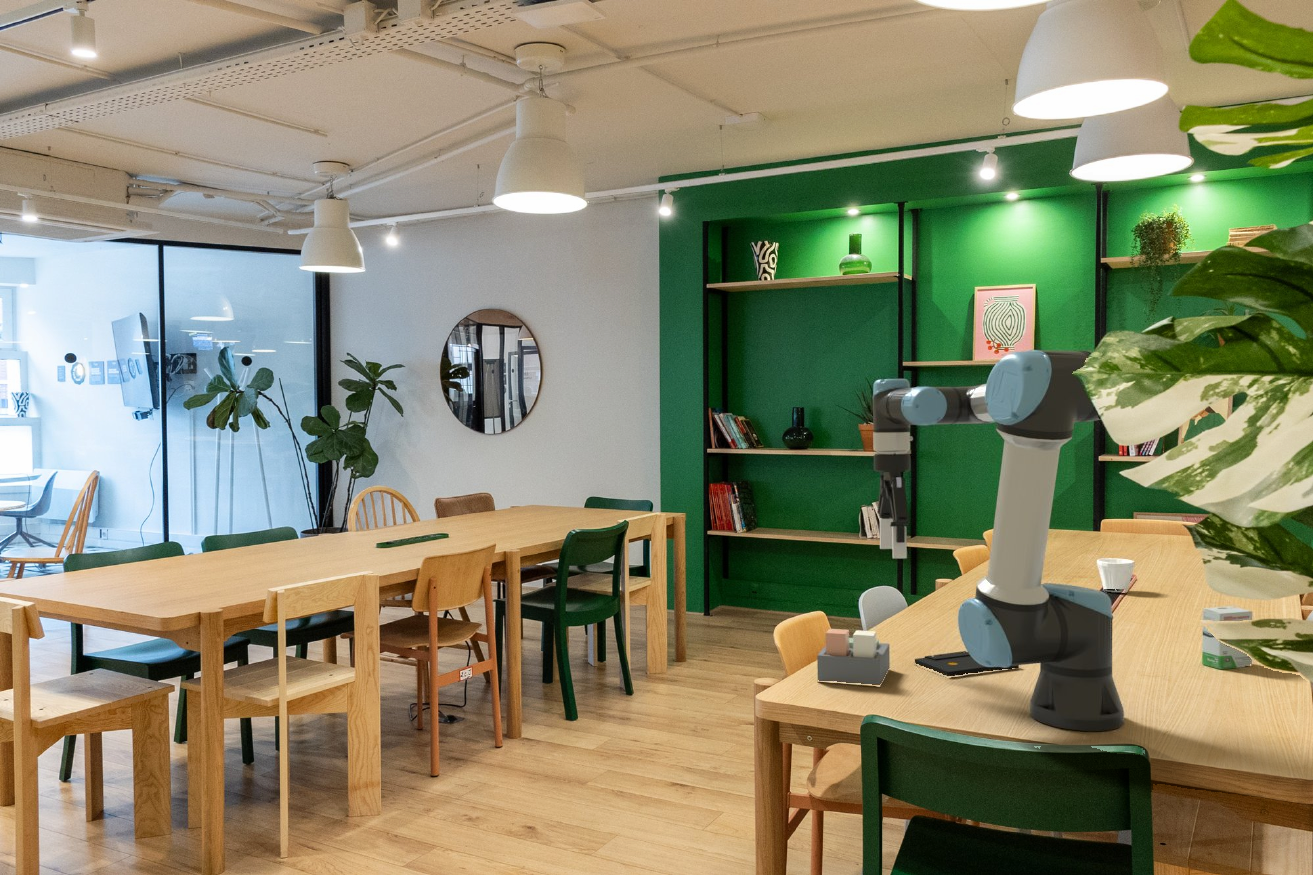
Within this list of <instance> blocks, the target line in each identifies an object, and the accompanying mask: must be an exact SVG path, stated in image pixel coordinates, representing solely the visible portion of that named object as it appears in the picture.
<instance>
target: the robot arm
mask: <svg viewBox="0 0 1313 875" xmlns="http://www.w3.org/2000/svg"><path fill="white" fill-rule="evenodd" d="M1092 351H1093V350H1044V349H1043V350H1039V349H1030V350H1024V351H1014V352H1010V353H1008V354H1006V355H1004V356H1003V357H1001V359H1000V360H999V361H998V362H996V363H995V365H994V366H993V368H992V370H991V371H990V373H989V376H988V378H987V381H986V383H984V384H978V385H974V386H973V385H971V386H929V385H928V386H925V385H924V386H921V385H920V386H916V387H910V386H911V385H910V381H909V380H908V379H906V378H886V379H883V378H882V379H881V378H880V379H877V380H875V381H874V383H873V393H872V398H871V399H872V415H873V416H872V420H873V422H872V424H873V434H872V436H873V437H872V438H873V439H872V440H873V442H872V444H873V445H872V447H873V451H874V452H876V453H874V454H873V469H874V470H873V471H874V472H878V473H879V472H880V474H879V482H880V483H879V490H878V491H879V492H878V502H877V503H878V504H877V511H876V513H877V514H878V516H879V549H880V550H892V559H907V558H908V551H907V550H908V549H907V547H908V546H907V526H908V525H909V524H910V518H909V508H908V500H907V492H906V491H907V490H906V478H905V477H902V476H901V473H903V472H910V471H911V455H910V453H908V452H910V450H911V442H913V440H914V438H913V436H911V433H910V432H911V425H913V426H914V425H915V426H920V427H922V426H931V425H932V426H933V425H950V424H951V425H956V424H957V425H958V424H960V425H961V424H965V425H967V424H969V425H970V424H972V425H973V424H977V425H983V424H984V425H986V424H993V423H996V428H995V429H996V431H997V433H998V434H999V436H1001V437H1002V439H1003V440H1004V442H1003V443H1004V444H1003V451H1002V458H1001V467H1000V473H999V474H1000V476H999V483H998V490H997V499H996V506H995V513H994V514H995V515H994V521H993V530H992V538H991V544H990V551H989V552H990V553H989V561H988V568H987V569H988V570H987V575H985V576H983V577H982V578H981V579H979V580H977V582H976V587H975V588H976V589H975V597H971V598H968V599H966V600H964V601H963V602H962V603H961V605H960V606H959V609H958V612H957V624H958V631H959V635H960V637H961V641H962V643H963V646H964V648H965V651H966V652H968V653H969V654H970V656H971V657H972V658H973V659H974V660H975V661H976V662H978V663H979V664H981V665H983V666H986V667H1004V668H1006V667H1009V666H1016V665H1019V666H1023V665H1033V664H1034V665H1035V664H1040V665H1039V667H1040V669H1039V670H1040V671H1039V674H1038V676H1037V679H1036V680H1037V681H1036V683H1035V686H1034V689H1033V692H1032V695H1031V697H1030V702H1029V714H1030V716H1031V718H1033V719H1034V720H1035V721H1037V722H1040V723H1043V724H1045V725H1049V726H1051V727H1055V728H1059V729H1060V728H1061V729H1065V730H1073V731H1080V732H1081V731H1084V732H1104V731H1111V730H1115V729H1118V728H1120V727H1122V726H1123V725H1124V724H1125V712H1124V707H1123V704H1122V701H1121V697H1120V695H1119V692H1118V690H1117V687H1116V684H1115V681H1114V678H1113V620H1114V616H1113V613H1112V612H1113V610H1112V609H1113V608H1112V599H1111V597H1110V596H1109V594H1107V592H1105V591H1104V592H1103V591H1101V590H1098V589H1094V588H1088V587H1085V586H1077V585H1072V584H1063V583H1051V582H1050V583H1049V582H1047V583H1046V582H1044V583H1042V579H1043V574H1044V573H1043V572H1044V565H1045V558H1046V552H1047V544H1048V536H1049V530H1050V524H1051V523H1050V522H1051V516H1052V515H1051V514H1052V508H1053V500H1054V496H1055V495H1054V493H1055V489H1056V488H1055V487H1056V479H1057V473H1058V465H1059V461H1060V460H1059V458H1060V453H1061V452H1060V450H1061V448H1062V447H1063V445H1064V444H1066V443H1068V442H1069V441H1071V440H1072V438H1073V432H1074V425H1075V423H1083V422H1084V423H1086V422H1087V423H1088V422H1095V421H1099V420H1101V419H1099V418H1098V415H1097V414H1096V411H1095V410H1094V407H1093V405H1092V402H1091V401H1090V398H1088V395H1087V394H1086V391H1085V390H1084V386H1083V385H1082V383H1081V382H1080V380H1079V379H1078V378H1077V377H1075V376H1073V375H1072V373H1073V371H1076V370H1077V369H1080V367H1083V366H1084V362H1085V360H1086V358H1088V356H1089V355H1090V354H1091V352H1092Z"/></svg>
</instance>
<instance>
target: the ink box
mask: <svg viewBox="0 0 1313 875" xmlns="http://www.w3.org/2000/svg"><path fill="white" fill-rule="evenodd" d="M1203 620H1212V621H1243V620H1252V621H1253V611H1252V610H1248V609H1245V608H1241V607H1237V606H1233V605H1231V606H1218V607H1216V606H1215V607H1205V608H1203V609H1202V621H1203ZM1201 638H1202V642H1201V645H1202V647H1201V648H1202V650H1201V651H1202V652H1201V653H1202V655H1201V656H1202V657H1201V664H1202V665H1205V666H1208V667H1211V668H1214V669H1217V670H1218V669H1219V670H1227V669H1228V670H1229V669H1239V668H1246V667H1245V666H1250V664H1252V665H1253V658H1252V659H1251V658H1250V657H1249V656H1247V654H1245V653H1243V652H1241V651H1239V650H1237V649H1235V648H1232V647H1230V646H1227V645H1225V644H1223V643H1221V642H1220V641H1218V639H1216V638H1215V637H1214V636H1213V635H1212V634H1211V633H1210V632H1209V631H1208V629H1206V627H1205V626H1203V625H1202V637H1201ZM1250 667H1251V666H1250Z"/></svg>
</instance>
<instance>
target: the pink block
mask: <svg viewBox="0 0 1313 875" xmlns="http://www.w3.org/2000/svg"><path fill="white" fill-rule="evenodd" d="M849 638H850V629H843V628H841V629H840V628H829V629H828V630H826V632H825V646H826V655H838V656H848V655H849Z"/></svg>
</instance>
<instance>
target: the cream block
mask: <svg viewBox="0 0 1313 875" xmlns="http://www.w3.org/2000/svg"><path fill="white" fill-rule="evenodd" d="M852 638H853V657H866V658H876V657H877V652H876V640H877V631H874V630H872V631H870V630H859V629H858V630H855V632H854V633H853V635H852Z"/></svg>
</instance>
